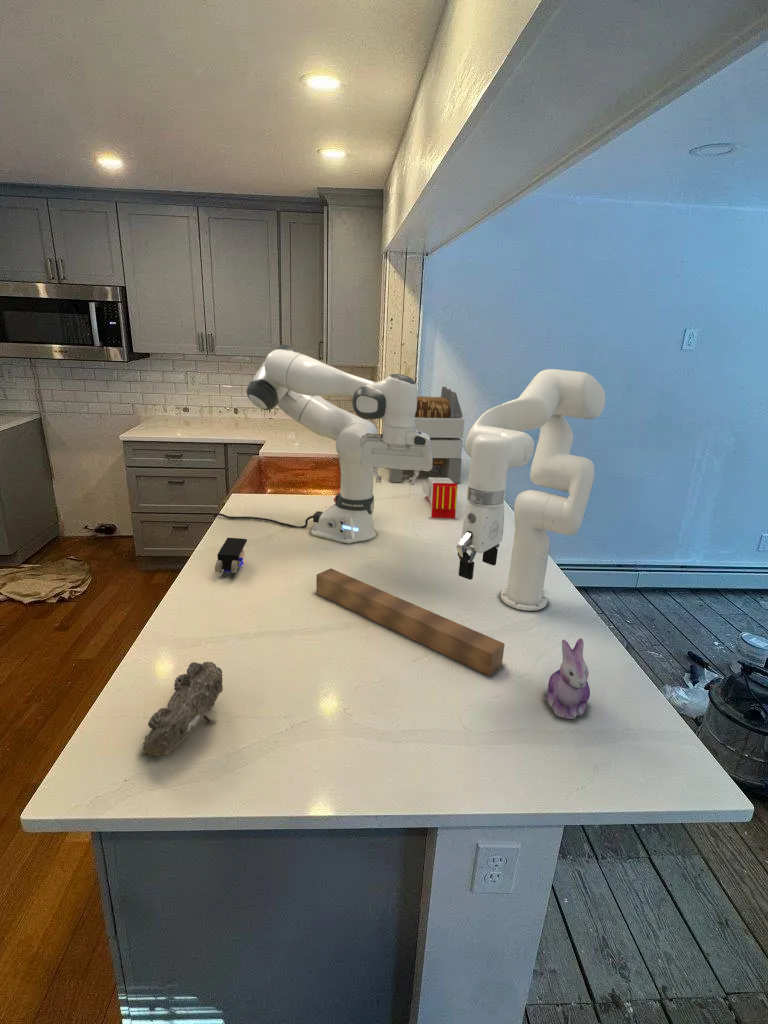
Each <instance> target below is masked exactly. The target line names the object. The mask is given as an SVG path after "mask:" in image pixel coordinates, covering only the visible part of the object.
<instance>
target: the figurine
mask: <svg viewBox="0 0 768 1024" xmlns="http://www.w3.org/2000/svg"><path fill="white" fill-rule="evenodd" d="M584 645H585V643H584V639H583V638H582V637H580V638H578V639H577V640H576V642H575V645H574V647H573V648H572V647H571V646H570V643H569V642H568V641H567V640H566V639H562V640H561V653H562V661H561V664H560V666H559V669H558V670H555V671H554V672H553V673H552V674H551V675H550V677H549V679H548V684H547V692H546V700H547V703H548V704H547V705H549V707H550V708H551V709H552V711H553V712H554V714H555V716H558V718H562V719H563V718H564V719H567V720H574V719H576V718H577V717H578V716H582V715H583V714H584V713H585V711H586V707H587V704H588V701H589V699H590V697H591V690H590V684H589V682H588V678H589V669H588V665H587V663H586V661H585V659H584Z"/></svg>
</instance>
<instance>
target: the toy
mask: <svg viewBox="0 0 768 1024" xmlns="http://www.w3.org/2000/svg"><path fill="white" fill-rule="evenodd" d="M422 493H424V494H425V498H426V500H427V501H428V502H429V504H430V506H431V517H430V518H432V519H456V514H457V513H456V512H457V498H458V483H453V482H452V481H451V480H450V479H449V478H444V477H431V476H430V477H429V476H428V477H427V482H426V481H425V480H423V484H422Z"/></svg>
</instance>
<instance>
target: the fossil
mask: <svg viewBox="0 0 768 1024" xmlns="http://www.w3.org/2000/svg"><path fill="white" fill-rule="evenodd" d="M173 685H174V686H173V687H174V688H173V689H174V692H173V694H172V696H171V697H170V699H169V701H168V702H167V708H166V707H161V708H159V709H158V710H157V711H156V712H154V713H153V715H152V716H151V717H150V718H149V720H148V722H147V726H148V727H149V728H150V729H151V730H150V731H149V733H148V734H147V735H145V737H144V742H142V749H143V752H144V754H146V755H149V756H150V757H156V756H161V755H162V756H163V755H166V756H167V755H169V754H170V753H171V752H172V751H173V750H174V749H175V748H176V747H177V746H179V745H180V744H181V743H182V741H183V740H184V739H186V738H187V736H189V735H190V734H191V733H192V732H194V730H195V728H196V727H197V725H198V724H199V723H200V722H201V721H202V720H205V721H206V722H207V723H211V722H212V720H211V719H210V718H209V717H208V716H207V715H206V714H207V712H209V711H211V710H212V708H213V707H214V706H215V704H216V702H217V699H218V698H219V695H220V694H221V693H222V692H223V690H224V688H223V687H224V686H223V671H222V669H221V667H219V666H217V664H216V663H214V662H213V661H204V662H202V663H200V662H195V661H193V662H190V664H189V665H188V667H187V668H186V673H183V674H179V675H178V676H177V677H176V678H175V679H174V684H173Z"/></svg>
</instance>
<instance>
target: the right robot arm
mask: <svg viewBox="0 0 768 1024" xmlns="http://www.w3.org/2000/svg"><path fill="white" fill-rule="evenodd" d="M605 406H606V393H605V389H604V388H603V386H602V384H601V383H600V382H599V381H598V380H597V378H595V377H594V376H593V375H591V374H590V373H588V372H584V371H578V370H569V369H568V370H567V369H557V368H547V369H543V370H540V371H539V372H538V373H536V375H535V376H534V377H533V378H532V379H531V381H530V382H529V383H528V384H527V386H526V388H524V389H523V391H522V392H521V394H520V395H519V396H518V397H517V398H515V399H511V400H509V401H506V402H504V403H501V404H498V405H496V406H493V407H491V408H489V409H488V410H486V411H484V412H483V413H482V414H481V415H480V416H479V417H478V418H477V420H476V421H475V422H474V423H473V425H472V426H471V428H470V429H469V432H467V435H466V438H465V444H464V445H465V446H464V447H465V451H466V453H467V455H468V456H469V458H470V463H469V475H468V485H467V495H466V502H467V504H466V508H465V511H464V512H465V513H464V518H463V523H462V530H461V539H460V540H459V541H458V543H457V544H456V551H457V556H458V560H459V566H458V577H461V578H464V579H467V580H470V581H471V580H473V578H474V569H475V561H474V559H475V557H476V555H477V553H478V554H482V559H481V560H482V563H485V564H487V565H490V566H496V565H497V561H498V552H499V547H500V545H501V544H500V543H501V542H502V541H503V537H504V528H505V527H504V526H505V494H506V485H507V477H508V470H509V469H515V468H521V467H523V466H525V465H527V463H529V461H531V460H532V458H533V460H532V462H531V466H530V471H529V480H530V481H531V482H532V483H533V484H534V485H536V486H539V487H543V488H548V489H551V490H556V491H562V492H566V493H568V496H564V495H560V494H554V493H551V492H547V491H541V490H536V489H526V490H523V491H521V492H520V493H518V494H517V496H516V498H515V500H514V504H513V516H514V532H513V533H514V534H513V542H512V550H511V558H510V565H509V572H508V573H509V574H508V581H507V586H506V587H505V588H503V589H502V590H501V592H500V599H501V601H502V602H503V603H504V604H506V605H507V606H509V607H511V608H513V609H516V610H521V611H528V612H532V611H533V612H534V611H539V610H542V609H544V608H545V607H546V606H547V605H548V597H547V596H546V594H544V586H545V579H546V574H547V573H546V572H547V567H548V559H549V555H550V554H549V553H550V547H551V546H550V545H551V544H550V537H549V535H548V533H547V531H548V532H551V533H555V534H560V535H565V536H574V535H576V534H577V533H578V532H579V531H580V529H581V526H582V524H583V521H584V517H585V514H586V509H587V506H588V504H589V499H590V495H591V493H592V492H591V491H592V488H593V485H594V479H595V464H594V463H593V461H592V460H591V459H590V458H588V457H585V456H582V455H581V456H580V455H574V454H570V453H571V449H572V445H573V441H574V432H573V429H572V428H571V426H570V424H569V422H568V420H567V419H566V418H567V417H569V418H576V419H583V420H595V419H597V418H598V417H600V416H601V414H602V413H603V411H604V408H605ZM537 429H539V437H538V439H537V440H538V441H537V444H536V448H535V441H534V439H533V438H532V436H531V435H529V434H528V433H527V432H526V431H531V430H532V431H533V430H537ZM468 551H469V552H470V553H468Z"/></svg>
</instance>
